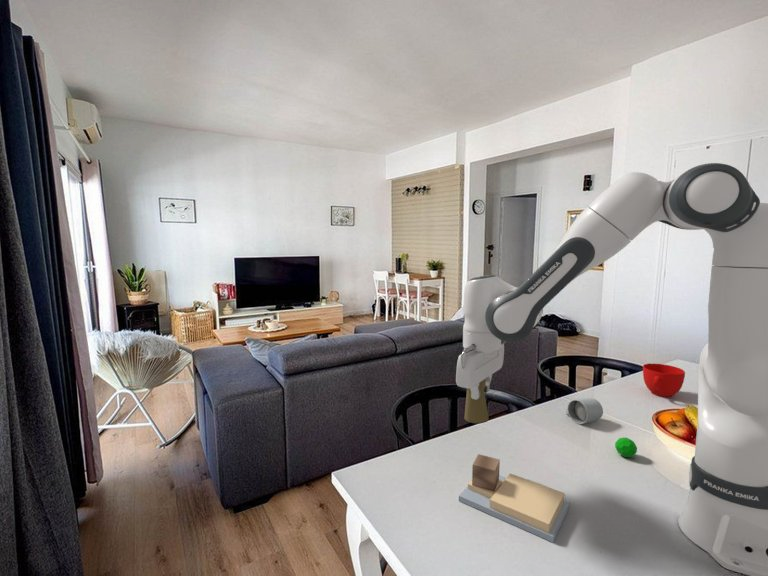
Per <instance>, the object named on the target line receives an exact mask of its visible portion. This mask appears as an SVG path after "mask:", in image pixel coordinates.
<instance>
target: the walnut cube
mask: <svg viewBox="0 0 768 576" xmlns="http://www.w3.org/2000/svg"><path fill="white" fill-rule="evenodd" d="M500 462H501V460H500V459H498V458H496V457H495V458H494V457H492V456H487V455H483V454H480V453H478V454H477V456H476V457H475V460H474V461H473V463H472V470H471V471H472V472H471V475H472V476H471V480H472V485H473V486H476V487H480V488H483V489H487V490H490V491H493V492H494V491H495V489H496V486H497V484H498V481H499V475H500Z"/></svg>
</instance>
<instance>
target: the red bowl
mask: <svg viewBox="0 0 768 576" xmlns="http://www.w3.org/2000/svg"><path fill="white" fill-rule="evenodd" d="M642 376H643V382H644V384H645V386H646V388H647V389H648V390H649V392H650V393H651V394H653V395H655V396H656V397H662V398H672V397H673V396H674V395H676V394H677V393H679V391H680V390H681V389H682V386H683V384H684V381H685V377H686V372H685V370H684V369H682V368H679V367H677V366H673V365H668V364H662V363H646V364H643V365H642Z"/></svg>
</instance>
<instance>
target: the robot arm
mask: <svg viewBox="0 0 768 576" xmlns="http://www.w3.org/2000/svg"><path fill="white" fill-rule="evenodd" d="M656 222H657V223H658V222H660V223H663V224H665V225H668V226H671V227H674V228H675V229H679V230H687V231H688V230H689V231H691V230H692V231H695V230H704V231H705V232H707V234H708V235H709V237H710V238H711V241H712V248H713V253H712V259H711V269H710V270H711V271H710V281H709V294H708V304H707V313H708V315H707V316H708V335H707V336H708V339H707V340H708V342H707V343H705V345H704V347H702V350H701V352H700V354H699V365H698V388H697V389H698V390H697V392H698V393H697V425H696V436H695V438H696V439H695V449H694V450H695V451H694V456H693V457H692V458H691V461H690V462H691V463H690V466H689V472H688V475H689V476H688V483H689V491H688V492H689V493H688V495H687V500H686V502H685V505H684V508H683V510H682V512H681V514H680V515H679V517H678V521H677V522H678V526H679V528H680V530H681V531H682V532H683V534H684V535H685V536H686V537H687V538H688V539H689V540H690V541H691V542H693V544H696V546H697V547H699V548H701V549H702V550H703V551H705V552H706V553H708V554H709V555H710V556H711V557H712V558H713V559H714V560H715V561H716V562H717V563H718V564H719V565H720V566H722V567H723V568H724V569H727V570H729V571H732V572H736V573H739V574H743V575H746V576H768V203H767V202H761V200H760V198H759V197H758V195H757V193H756V192H755V191H754V189H753V188H752V186H751V185H750V182H749V181H748V179H747V178H746V176H745V175H744V174H743V173H742V172H741V171H740V170H739V169H738V168H736V167H734V166H733V165H729V164H725V163H721V162H720V163H719V162H715V163H714V162H710V163H709V162H708V163H703V164H700V165H696V166H694V167H691V168H689V169H688V170H686V171H684V172H683V173H681V174H680V175H679V176H677V177H676V178H675V179H672V180H671V181H663V180H662V181H661V180H658V179H657V178H655V177H654V176H653V175H650V174H648V173H645V172H644V173H643V172H639V171H635V172H630V173H629V172H628V173H626V174H625V175H623V176H621V177H620V178H619V179H617V180H616V181H615V182H613V183H612V184H611V185H609V186H608V187H606V188H605V190H603V191H602V192H601V193H600V194H599V195H597V196H596V198H594V199H593V200H592V201H591V202H590V203H589V204H588V205H587V206H586V207H585V208H584V209H583V210H582V211H581V213H580V214H579V215H578V216H577V217H576V218H575V220H574V221H573V222H572V223H571V225H570V226H569V227H568V229H567V230H566V232H565V234H564V235H563V237H562V238H561V240H560V241H559V243H558V244H557V246H556V248H555V249H553V252H552V254H551V255H550V256H549V257H548V258H547V259H546V261H544V262H543V263H542V264H541V265H540V267H538V268H537V269H536V270H535V271H534V272H533V273H532V274H531V275H530V276H529V277H528V278H527V279H526V280H525V281H524V282H523V283H522V284H521V285H520V286H518V287H517V286H514V285H512V284H510V283H508V282H506V281H505V280H503V279H501V278H500V277H499V276H498V275H495V274H487V275H481V276H475V277H473V278H470V279H468V281H467V282H466V284H465V285H464V286H465V287H464V293H463V304H462V305H463V309H462V310H463V314H464V322H463V326H462V347H463V350H462V353H461V354H459V355H458V358H457V361H456V362H457V363H456V373H455V383H456V385H457V387H460V388H463V389H466V390H467V389H470V390H471V398H472V399H476V400H477V399H478V398H480V391H479V389H478V386H479V383H480V382H481V381H483V380H484V379H485V381H486V385H485V388H484V394H486V393H487V392H489V391H490V385H491V381H492V378H493V375H494V374H495V373H496V372H497V371H499V370H501V369H502V367H503V365H504V356H505V346H504V345H505V344H506V342H507V343H517V342H520V341H523V340H524V339H525V338H527V337H528V336H530V333H531V332H532V331H533V329H534V328H535V326H536V325H537V324H538V323H539V321H540V320H541V319H542V316H543V313H544V308H545V307H546V306H547V305H548V304H549V303H550V302H551V301H552V300H553V299H554V298H555V297H556V296H557V295H558V294H560V292H562V291H563V289H565V288H566V287H567V286H568V285H569V284H570V283H571V282H573V281H574V280H575V279H577V278H578V277H579V276H581V275H583V274H584V273H586V272H588V271H590V270H592V269H594V268H596V267H598V266H600V265H601V264H603V263H606V262H607V261H608V260H609V259H611V258H613V257H614V256H615V255H617V254H618V253H619V252H621V251H622V250H623V249H624V248H625V247H627V246H628V245H629V244H630V243H631V242H632V241H633V240H634V239H636V237H637V236H639V235H640V234H641V233H642V232H644V230H645V229H646V228H648V227H650V225H653V224H654V223H656Z"/></svg>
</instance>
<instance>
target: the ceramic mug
mask: <svg viewBox="0 0 768 576" xmlns="http://www.w3.org/2000/svg"><path fill="white" fill-rule="evenodd" d="M564 411H565V414H566V415H568V417H569V418H570V419H571V421H573V423H575V424H578V425H584V424H589V423H592V422H597V421H598V420H600V419H601V418H602V417H603V415H604V409H603V406H602V404H601V402H600V401H599V400H597V399H596V398H593V397H585V398H574V399H572V400H570V401H569V402H568V404H567V408H566V409H565V410H564Z"/></svg>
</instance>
